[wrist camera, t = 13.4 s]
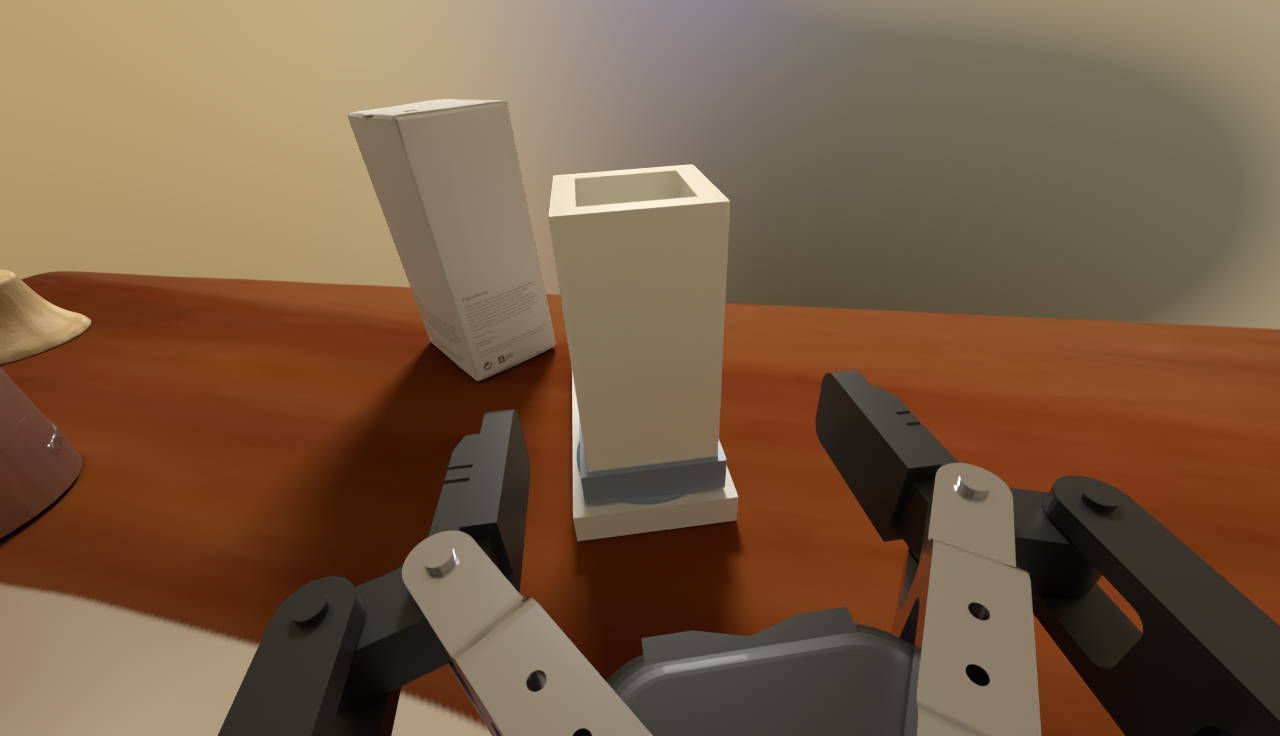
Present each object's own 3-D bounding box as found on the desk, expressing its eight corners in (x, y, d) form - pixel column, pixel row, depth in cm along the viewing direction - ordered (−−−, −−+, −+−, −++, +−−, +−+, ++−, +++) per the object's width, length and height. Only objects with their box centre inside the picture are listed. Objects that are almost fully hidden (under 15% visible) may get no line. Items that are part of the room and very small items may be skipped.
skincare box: (558, 349, 35) (516, 99, 26) (471, 388, 31) (390, 115, 23) (501, 312, 40) (451, 94, 32) (422, 342, 37) (340, 106, 28)
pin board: (736, 520, 22) (743, 434, 19) (577, 541, 21) (561, 456, 19) (678, 354, 33) (677, 286, 31) (574, 365, 33) (564, 297, 30)
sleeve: (724, 487, 21) (743, 202, 15) (585, 505, 21) (537, 220, 14) (695, 402, 26) (698, 162, 20) (582, 415, 26) (545, 174, 19)
